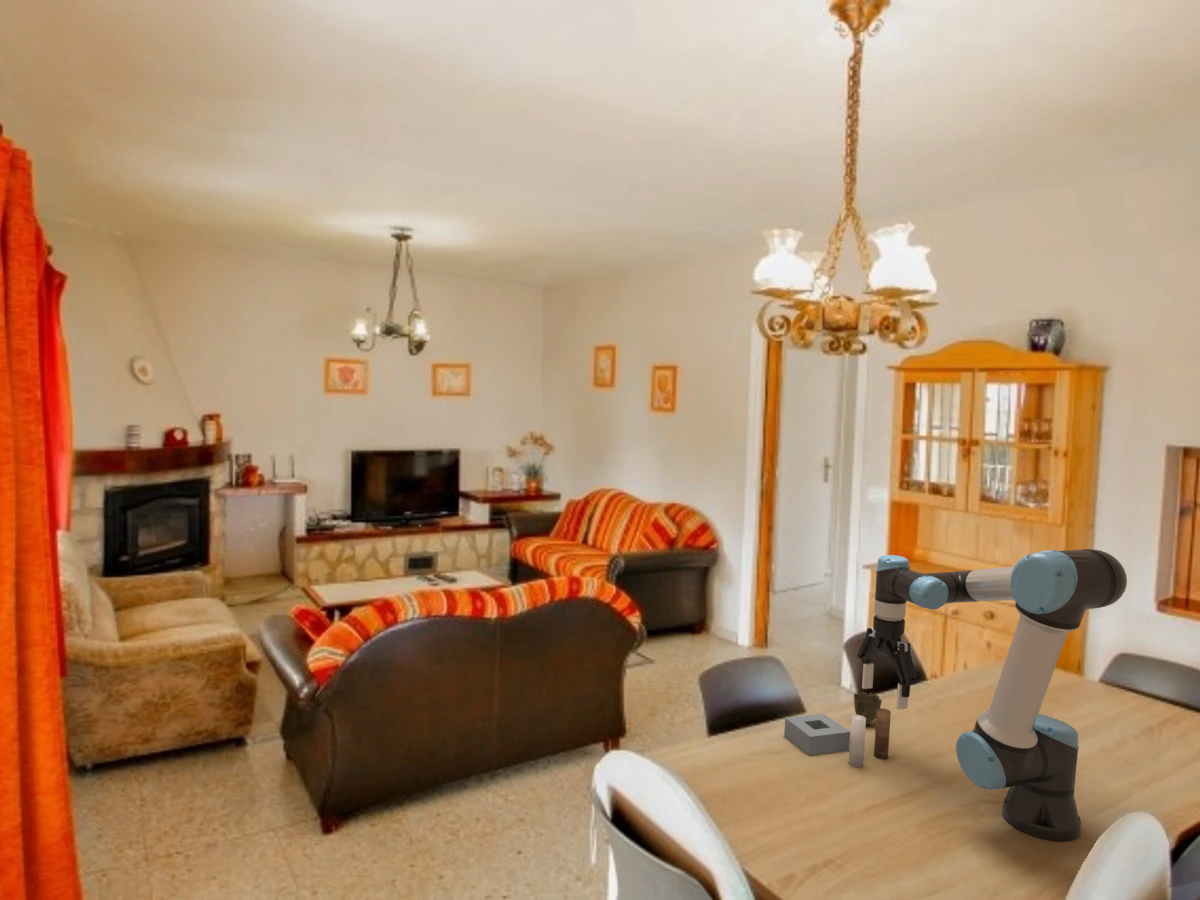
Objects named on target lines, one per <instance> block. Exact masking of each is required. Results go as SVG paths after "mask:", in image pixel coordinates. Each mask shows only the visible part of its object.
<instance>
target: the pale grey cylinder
mask: <svg viewBox="0 0 1200 900" xmlns="http://www.w3.org/2000/svg"><path fill="white" fill-rule="evenodd" d="M866 727H867V726H866V718H865V717H864V716H861V715H856V714H852V716H851V722H850V745H849V755H848V756H849V757H848V758H849V759H848V764H849V766H851V767H854V768H862V767H864V756H865V755H864V754H865V739H866Z"/></svg>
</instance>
